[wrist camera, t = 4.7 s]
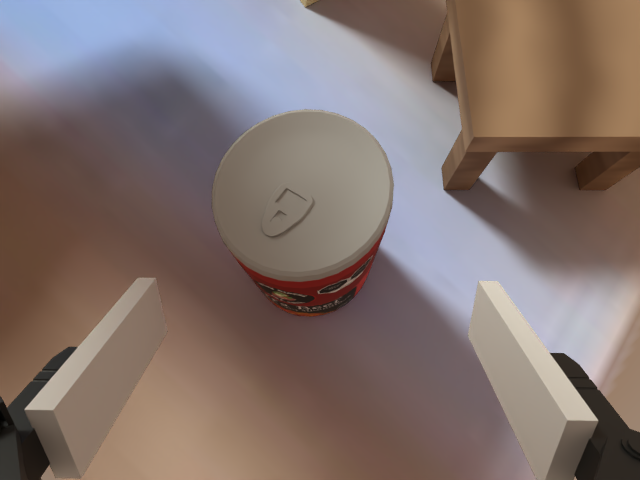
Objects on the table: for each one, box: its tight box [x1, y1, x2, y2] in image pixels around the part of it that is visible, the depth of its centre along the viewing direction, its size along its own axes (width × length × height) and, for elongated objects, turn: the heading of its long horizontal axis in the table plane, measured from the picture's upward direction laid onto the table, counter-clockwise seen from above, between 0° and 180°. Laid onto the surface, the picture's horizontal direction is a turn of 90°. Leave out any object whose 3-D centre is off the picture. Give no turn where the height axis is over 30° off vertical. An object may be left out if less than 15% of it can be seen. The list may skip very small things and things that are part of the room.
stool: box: [431, 0, 640, 190], centre depth 27 cm, size 12×12×7 cm
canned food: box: [212, 109, 394, 317], centre depth 22 cm, size 8×8×11 cm
